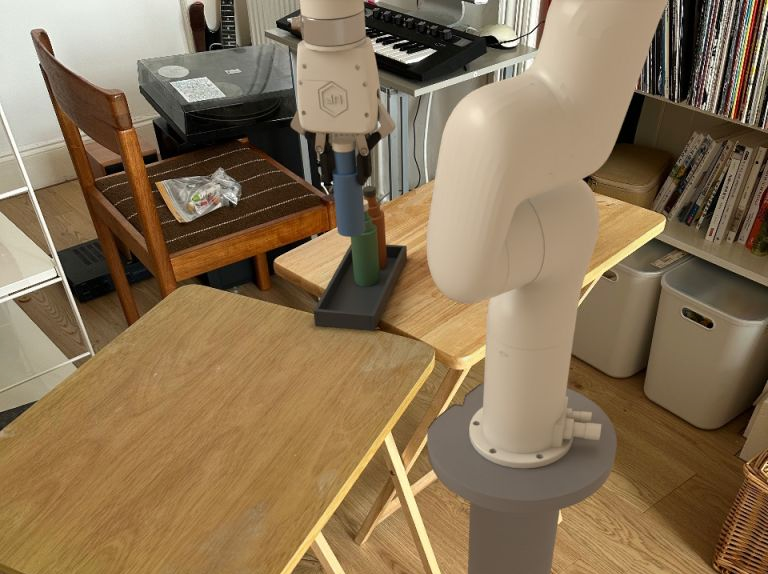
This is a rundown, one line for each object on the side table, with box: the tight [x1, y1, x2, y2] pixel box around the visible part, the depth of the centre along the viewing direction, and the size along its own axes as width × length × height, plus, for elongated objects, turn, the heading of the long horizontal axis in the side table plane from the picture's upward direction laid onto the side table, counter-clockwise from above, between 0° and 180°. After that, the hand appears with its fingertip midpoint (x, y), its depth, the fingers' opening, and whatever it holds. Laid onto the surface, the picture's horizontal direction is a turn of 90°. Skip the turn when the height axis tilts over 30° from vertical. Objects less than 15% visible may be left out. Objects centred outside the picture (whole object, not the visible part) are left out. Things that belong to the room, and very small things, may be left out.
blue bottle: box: [331, 135, 366, 238], centre depth 109 cm, size 4×4×12 cm
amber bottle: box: [362, 185, 387, 270], centre depth 123 cm, size 4×4×12 cm
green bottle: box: [350, 199, 380, 286], centre depth 120 cm, size 4×4×12 cm
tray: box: [312, 243, 408, 332], centre depth 122 cm, size 9×21×2 cm, turn 166°
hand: (347, 179), depth 108 cm, fingers closed on blue bottle, 4 cm apart
